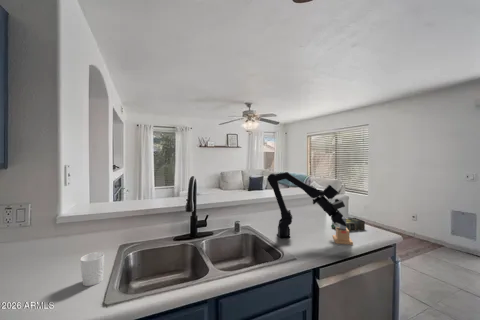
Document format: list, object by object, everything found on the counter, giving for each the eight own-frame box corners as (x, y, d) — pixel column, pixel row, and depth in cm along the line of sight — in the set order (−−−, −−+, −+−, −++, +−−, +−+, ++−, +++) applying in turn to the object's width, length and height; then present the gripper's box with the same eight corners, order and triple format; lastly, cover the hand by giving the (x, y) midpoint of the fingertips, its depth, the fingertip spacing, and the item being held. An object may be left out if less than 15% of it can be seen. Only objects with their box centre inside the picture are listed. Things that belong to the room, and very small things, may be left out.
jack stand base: (335, 243, 125) (335, 231, 125) (332, 237, 134) (332, 226, 133) (352, 244, 123) (353, 232, 123) (348, 238, 131) (349, 227, 131)
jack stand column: (340, 238, 127) (340, 218, 127) (338, 236, 130) (339, 216, 130) (345, 238, 126) (346, 218, 126) (344, 236, 129) (345, 217, 129)
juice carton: (339, 232, 142) (340, 223, 142) (329, 227, 152) (330, 218, 152) (365, 230, 148) (365, 221, 148) (354, 225, 157) (354, 217, 157)
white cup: (108, 275, 92) (108, 251, 91) (97, 287, 84) (96, 261, 83) (89, 275, 91) (88, 252, 91) (75, 287, 83) (75, 261, 83)
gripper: (339, 198, 119) (361, 220, 117) (332, 192, 137) (351, 211, 135) (323, 212, 121) (344, 233, 119) (319, 204, 139) (337, 223, 137)
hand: (345, 224), depth 128 cm, fingers closed on jack stand column, 3 cm apart
